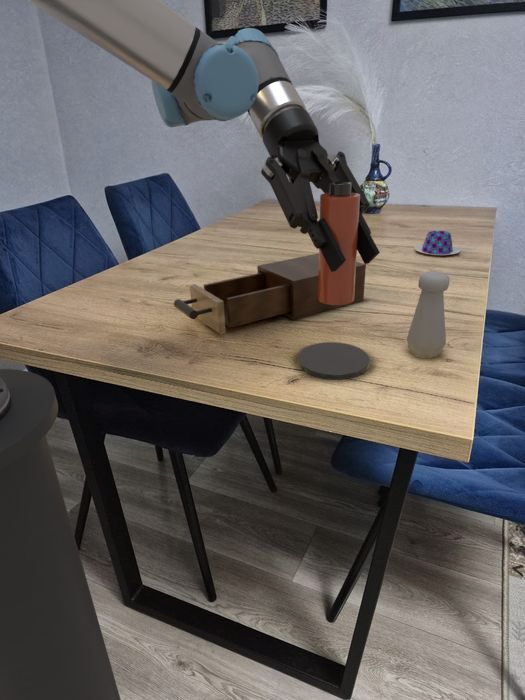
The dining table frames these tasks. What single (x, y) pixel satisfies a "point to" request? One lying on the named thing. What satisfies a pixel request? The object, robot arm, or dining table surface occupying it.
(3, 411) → the robot arm
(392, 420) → the dining table surface
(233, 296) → the drawer
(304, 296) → the cabinet
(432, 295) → the salt shaker
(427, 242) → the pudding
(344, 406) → the dining table surface
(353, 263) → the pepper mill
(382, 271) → the dining table surface
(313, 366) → the coaster
